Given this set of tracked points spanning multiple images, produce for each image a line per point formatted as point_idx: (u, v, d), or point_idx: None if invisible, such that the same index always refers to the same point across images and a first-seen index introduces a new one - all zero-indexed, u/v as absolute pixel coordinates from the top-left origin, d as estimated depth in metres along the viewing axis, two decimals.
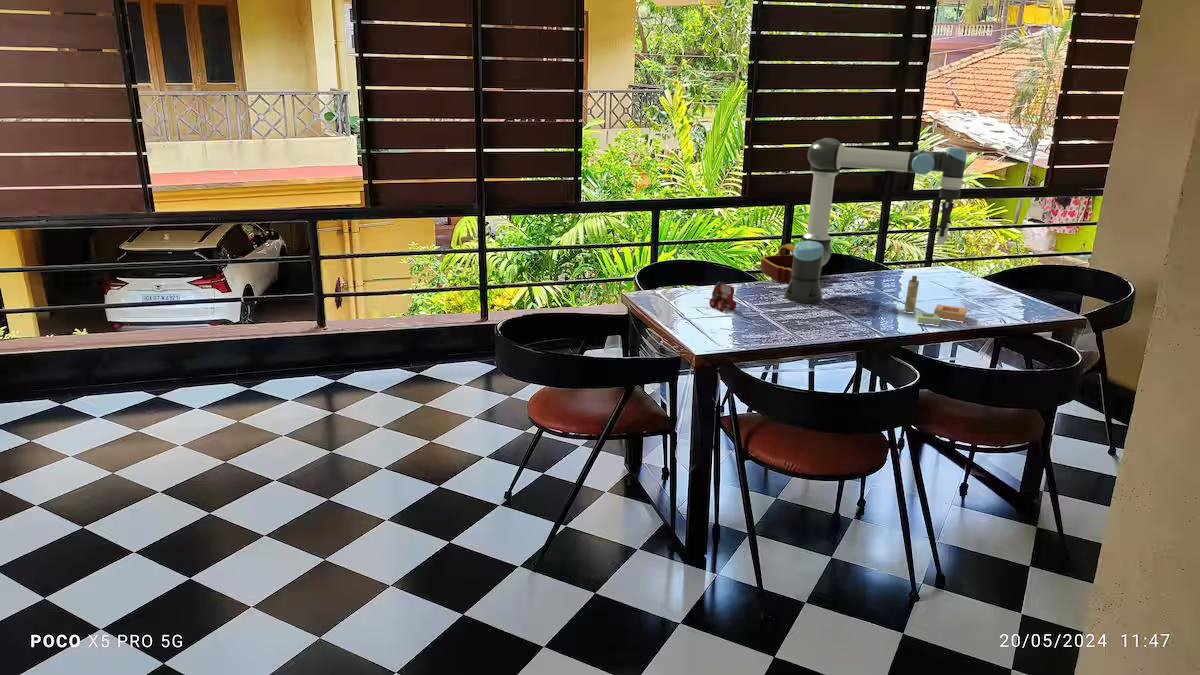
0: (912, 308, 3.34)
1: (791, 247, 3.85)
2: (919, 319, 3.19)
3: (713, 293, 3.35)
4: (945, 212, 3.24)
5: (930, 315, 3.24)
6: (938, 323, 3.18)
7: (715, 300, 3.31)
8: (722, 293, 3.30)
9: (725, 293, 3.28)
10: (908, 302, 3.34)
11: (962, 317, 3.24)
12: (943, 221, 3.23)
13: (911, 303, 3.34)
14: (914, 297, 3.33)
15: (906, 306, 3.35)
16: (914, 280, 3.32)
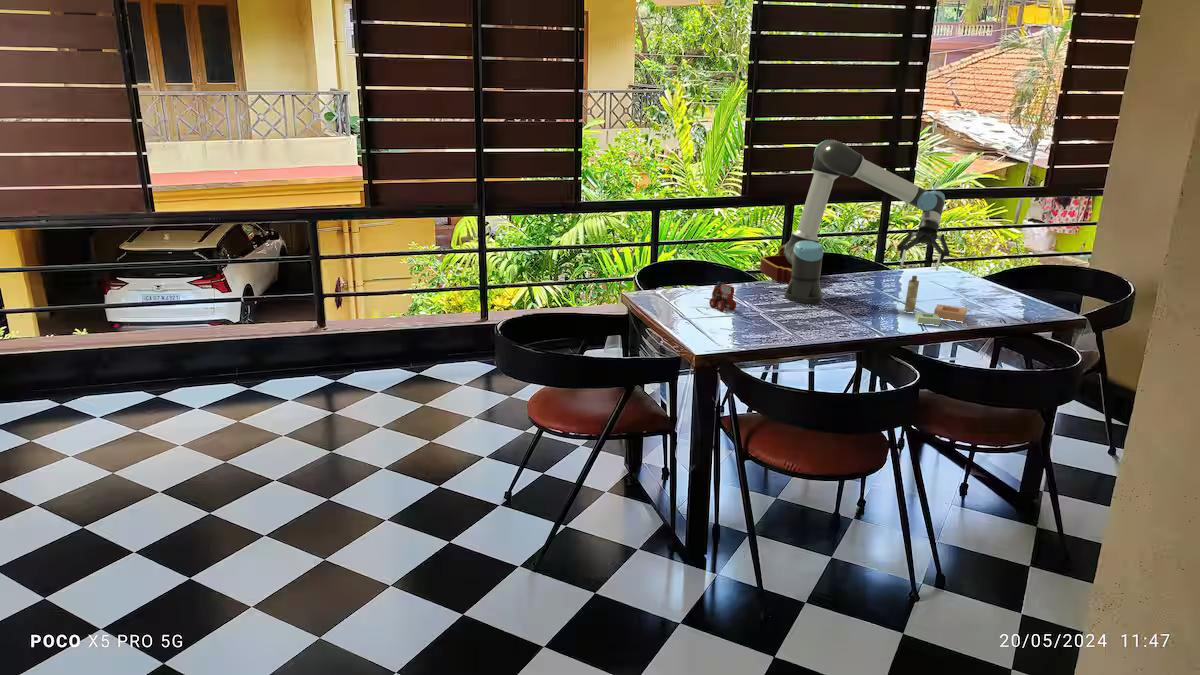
0: (912, 308, 3.34)
1: None
2: (919, 319, 3.19)
3: (713, 293, 3.35)
4: None
5: (930, 315, 3.24)
6: (938, 323, 3.18)
7: (715, 300, 3.31)
8: (722, 293, 3.30)
9: (725, 293, 3.28)
10: (908, 302, 3.34)
11: (962, 317, 3.24)
12: None
13: (911, 303, 3.34)
14: (914, 297, 3.33)
15: (906, 306, 3.35)
16: (914, 280, 3.32)
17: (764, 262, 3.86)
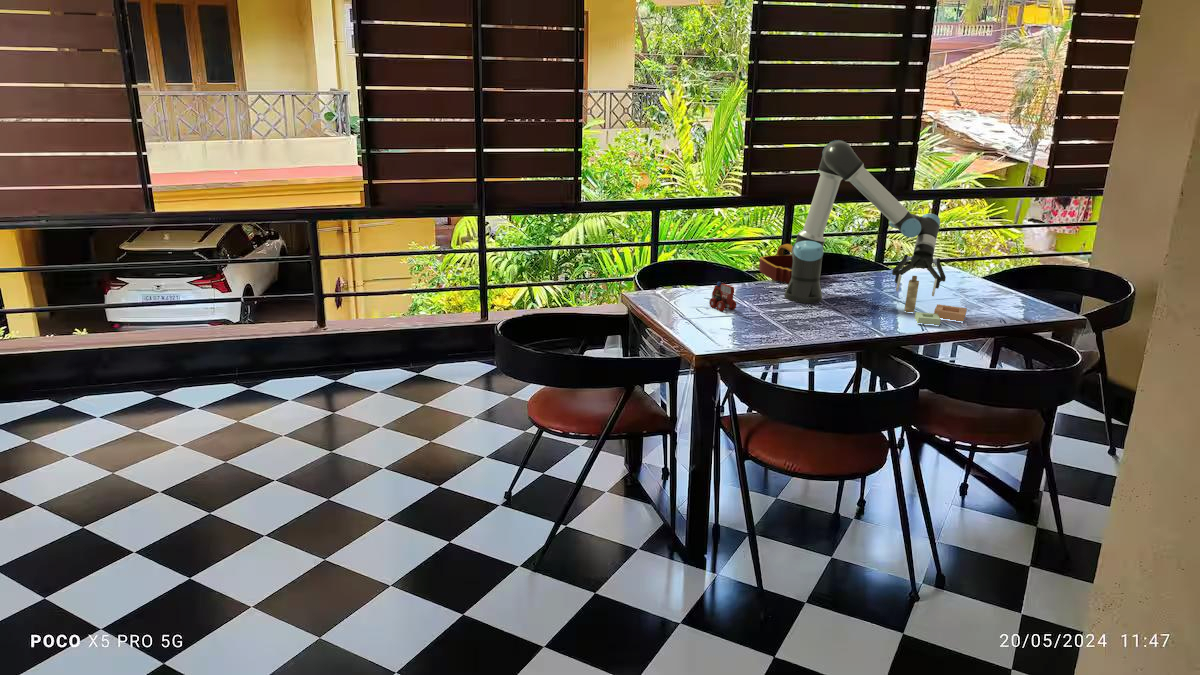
0: (912, 308, 3.34)
1: (789, 247, 3.85)
2: (919, 319, 3.19)
3: (713, 293, 3.35)
4: None
5: (930, 315, 3.24)
6: (938, 323, 3.18)
7: (715, 300, 3.31)
8: (722, 293, 3.30)
9: (725, 293, 3.28)
10: (908, 302, 3.34)
11: (962, 317, 3.24)
12: None
13: (911, 303, 3.34)
14: (914, 297, 3.33)
15: (906, 306, 3.35)
16: (914, 280, 3.32)
17: (763, 262, 3.86)
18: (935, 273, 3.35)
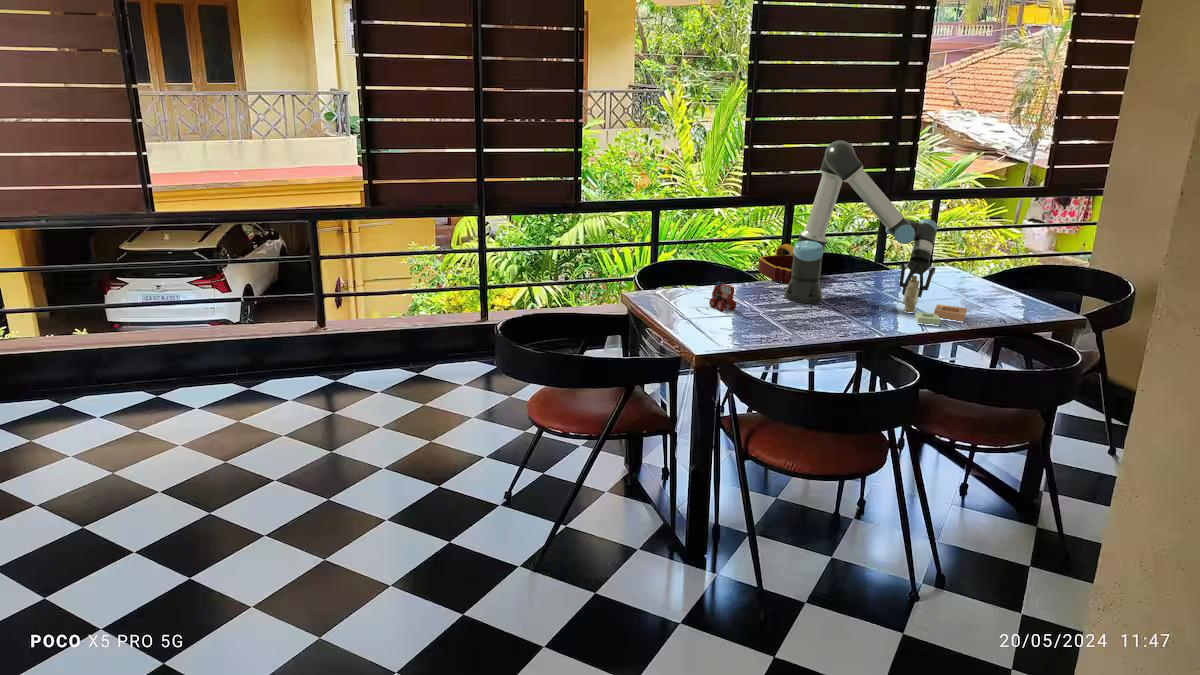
0: (912, 308, 3.34)
1: (789, 247, 3.85)
2: (919, 319, 3.19)
3: (713, 293, 3.35)
4: (931, 277, 3.35)
5: (930, 315, 3.24)
6: (938, 323, 3.18)
7: (715, 300, 3.31)
8: (722, 293, 3.30)
9: (725, 293, 3.28)
10: (908, 302, 3.34)
11: (962, 317, 3.24)
12: (929, 284, 3.33)
13: (911, 303, 3.34)
14: (914, 297, 3.33)
15: (906, 306, 3.35)
16: (914, 280, 3.32)
17: (762, 262, 3.86)
18: (921, 281, 3.34)
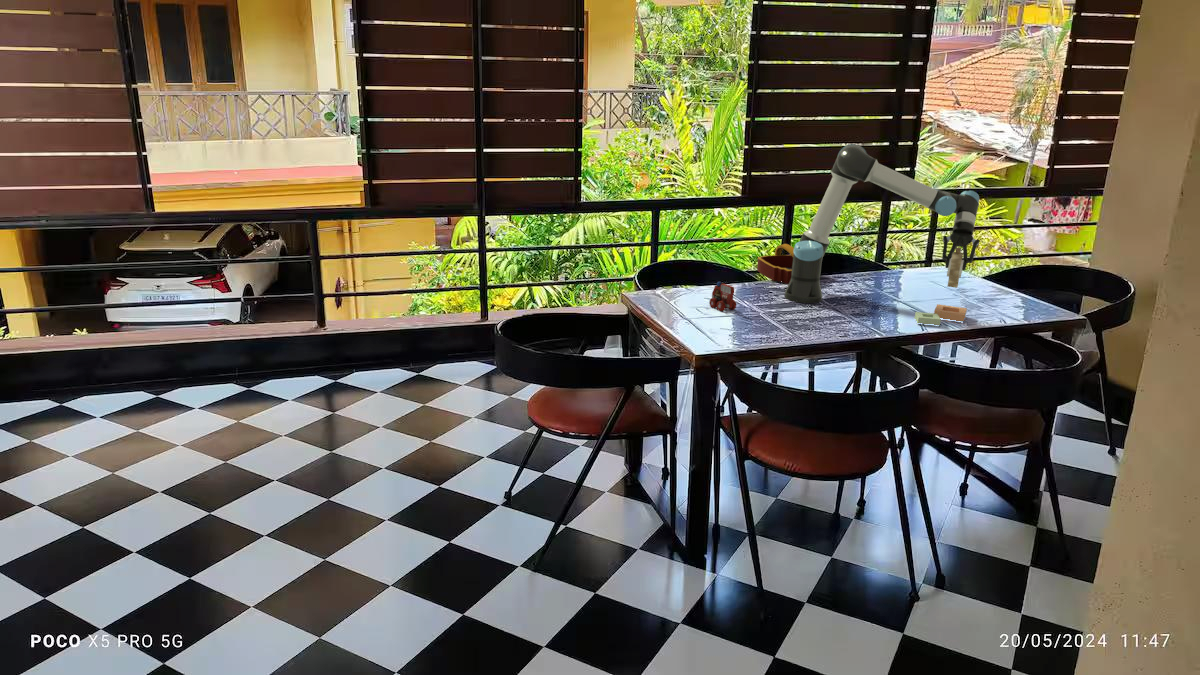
0: (956, 281, 3.25)
1: (788, 247, 3.85)
2: (919, 319, 3.19)
3: (713, 293, 3.35)
4: (975, 249, 3.26)
5: (930, 315, 3.24)
6: (938, 323, 3.18)
7: (715, 300, 3.31)
8: (722, 293, 3.30)
9: (725, 293, 3.28)
10: (952, 275, 3.25)
11: (962, 317, 3.24)
12: None
13: (955, 276, 3.25)
14: (958, 270, 3.24)
15: (950, 279, 3.26)
16: (958, 252, 3.23)
17: (761, 262, 3.86)
18: (965, 253, 3.25)
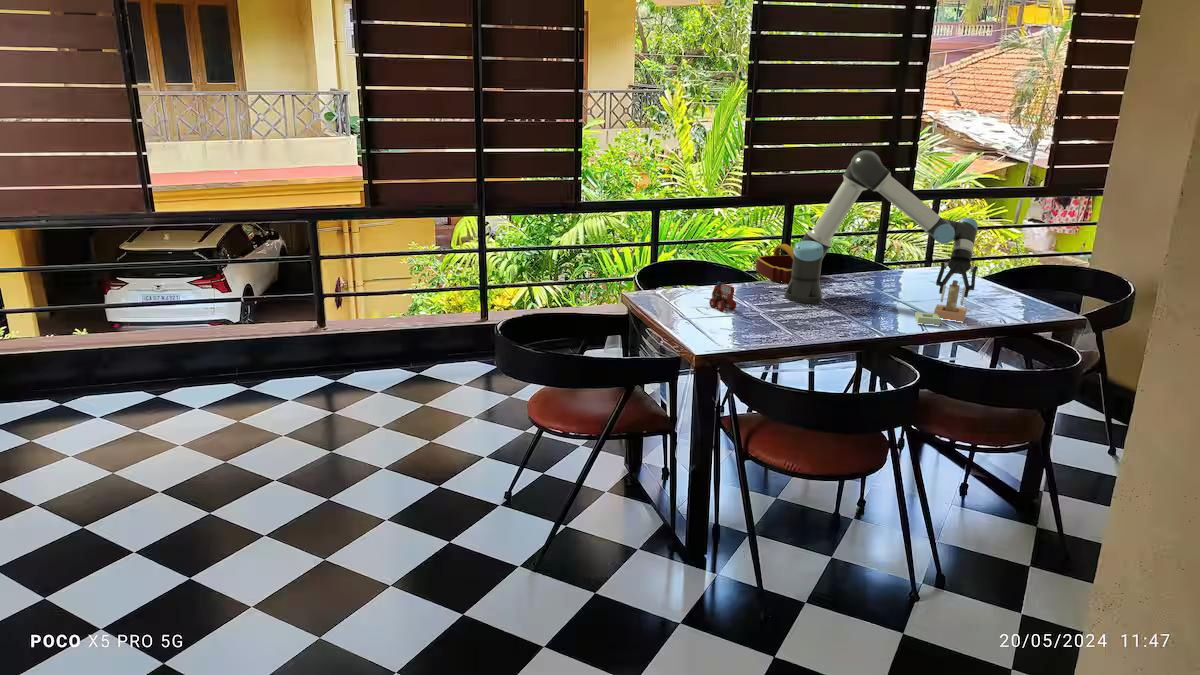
0: None
1: (786, 247, 3.85)
2: (919, 319, 3.19)
3: (713, 293, 3.35)
4: None
5: (930, 315, 3.24)
6: (938, 323, 3.18)
7: (715, 300, 3.31)
8: (722, 293, 3.30)
9: (725, 293, 3.28)
10: (948, 307, 3.29)
11: (962, 317, 3.24)
12: (974, 284, 3.27)
13: (951, 308, 3.29)
14: (955, 302, 3.27)
15: None
16: (955, 285, 3.27)
17: (759, 262, 3.86)
18: (966, 281, 3.27)
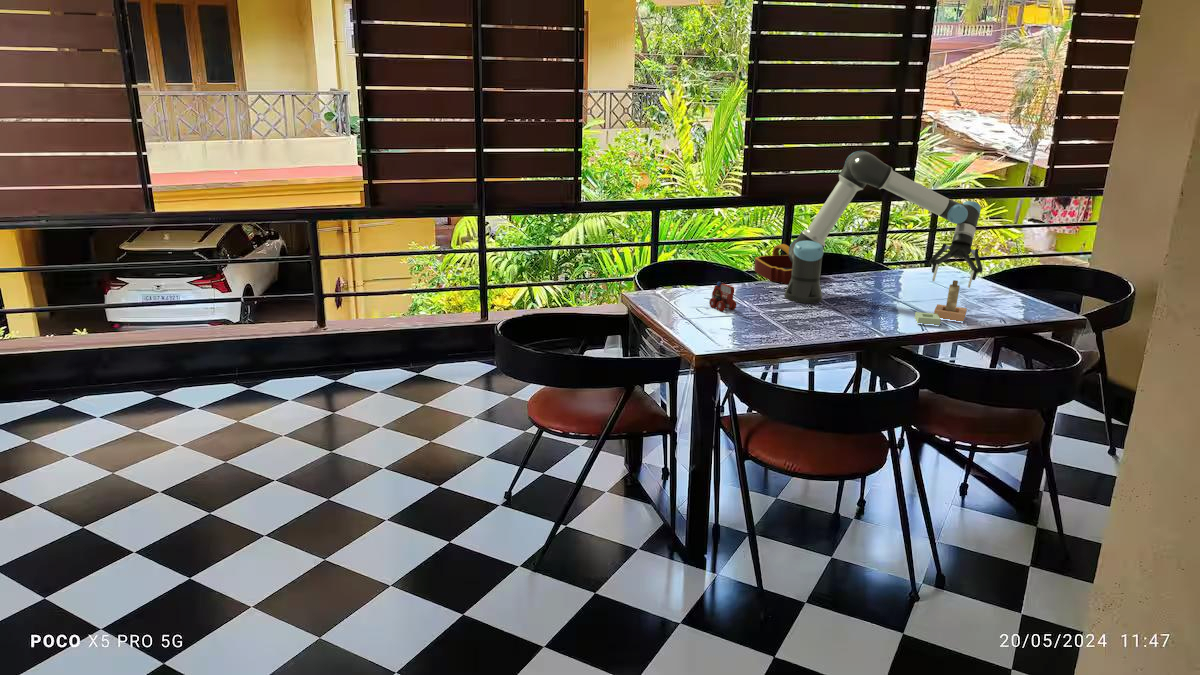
0: None
1: (785, 247, 3.85)
2: (919, 319, 3.19)
3: (713, 293, 3.35)
4: None
5: (930, 315, 3.24)
6: (938, 323, 3.18)
7: (715, 300, 3.31)
8: (722, 293, 3.30)
9: (725, 293, 3.28)
10: (948, 307, 3.29)
11: (962, 317, 3.24)
12: (981, 266, 3.37)
13: (951, 308, 3.29)
14: (955, 302, 3.27)
15: None
16: (955, 285, 3.27)
17: (758, 262, 3.86)
18: (972, 264, 3.38)
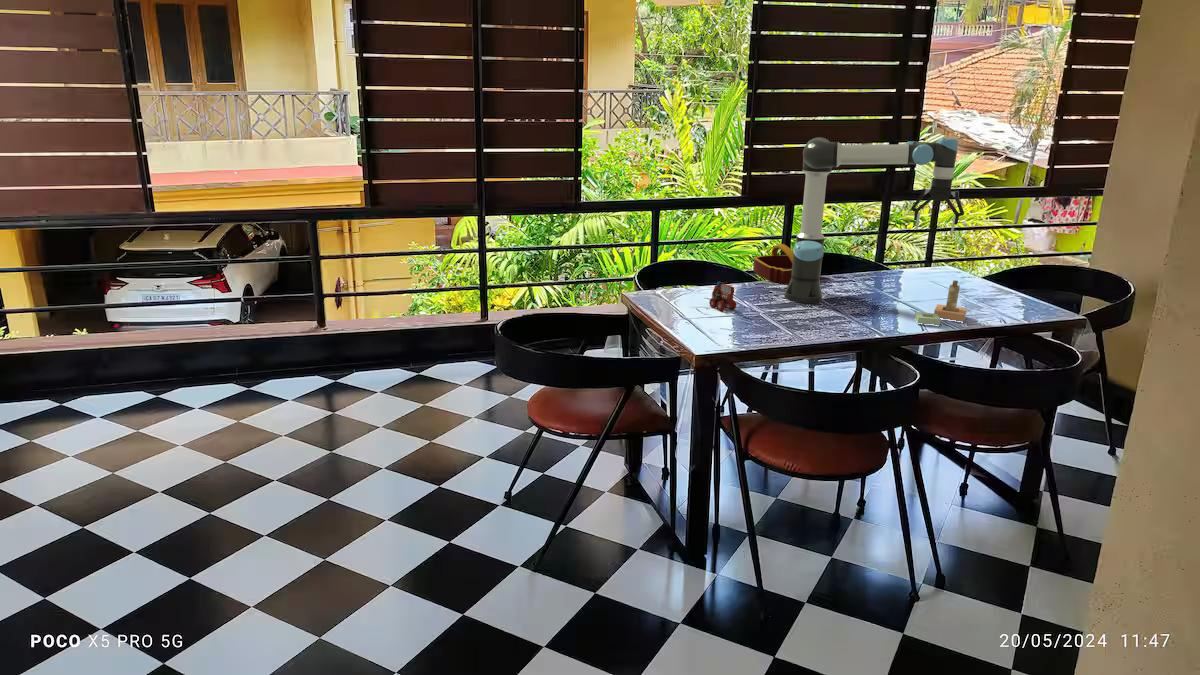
0: None
1: (784, 247, 3.85)
2: (919, 319, 3.19)
3: (713, 293, 3.35)
4: (959, 200, 3.35)
5: (930, 315, 3.24)
6: (938, 323, 3.18)
7: (715, 300, 3.31)
8: (722, 293, 3.30)
9: (725, 293, 3.28)
10: (948, 307, 3.29)
11: (962, 317, 3.24)
12: (962, 209, 3.36)
13: (951, 308, 3.29)
14: (955, 302, 3.27)
15: None
16: (955, 285, 3.27)
17: (757, 262, 3.85)
18: (953, 210, 3.36)
